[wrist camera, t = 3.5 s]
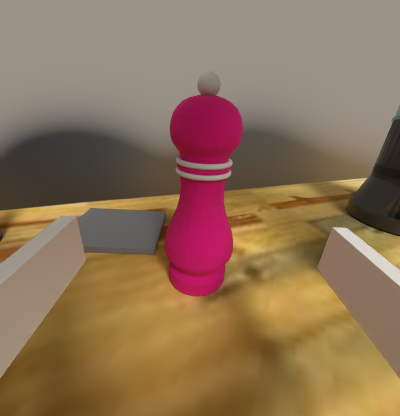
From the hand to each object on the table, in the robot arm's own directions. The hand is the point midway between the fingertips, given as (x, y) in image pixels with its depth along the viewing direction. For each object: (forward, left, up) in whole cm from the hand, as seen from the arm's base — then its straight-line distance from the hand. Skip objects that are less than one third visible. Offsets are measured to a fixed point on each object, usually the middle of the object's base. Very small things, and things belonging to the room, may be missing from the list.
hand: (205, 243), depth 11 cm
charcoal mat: (+12, -18, -11) cm, 25 cm away
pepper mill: (0, -9, -11) cm, 15 cm away
